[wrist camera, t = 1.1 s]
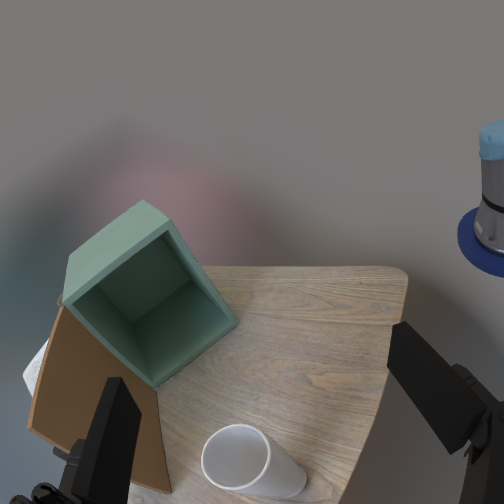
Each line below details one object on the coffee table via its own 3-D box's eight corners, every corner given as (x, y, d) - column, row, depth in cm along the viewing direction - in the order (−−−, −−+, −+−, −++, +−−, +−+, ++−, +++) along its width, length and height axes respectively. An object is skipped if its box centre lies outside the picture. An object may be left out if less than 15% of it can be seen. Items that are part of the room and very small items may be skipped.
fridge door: (140, 499, 30) (5, 435, 17) (131, 401, 48) (40, 321, 36) (171, 493, 30) (31, 427, 18) (156, 390, 48) (64, 304, 36)
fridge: (239, 323, 55) (170, 218, 42) (153, 389, 49) (61, 302, 37) (195, 278, 74) (143, 199, 62) (130, 327, 69) (69, 255, 56)
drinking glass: (324, 470, 27) (287, 443, 19) (293, 512, 24) (238, 505, 16) (281, 449, 32) (229, 410, 24) (252, 487, 28) (186, 462, 21)
